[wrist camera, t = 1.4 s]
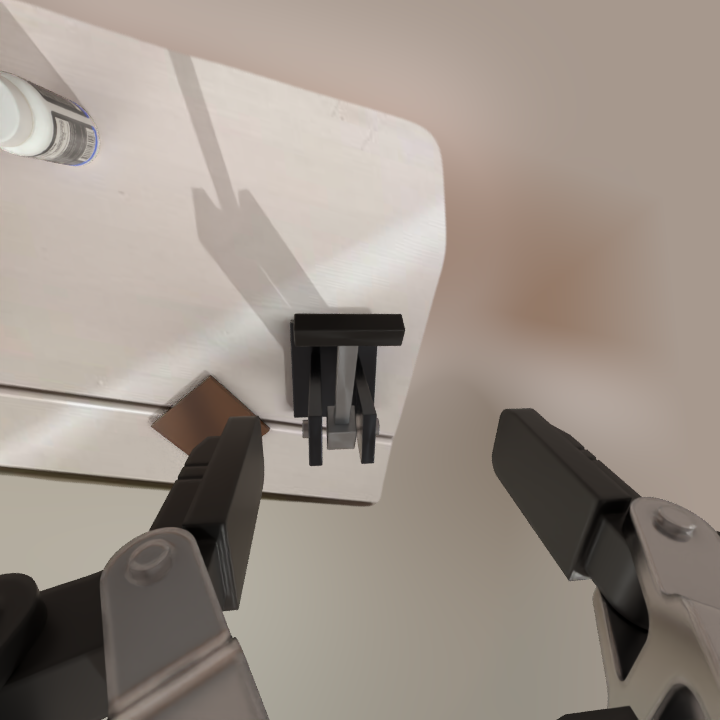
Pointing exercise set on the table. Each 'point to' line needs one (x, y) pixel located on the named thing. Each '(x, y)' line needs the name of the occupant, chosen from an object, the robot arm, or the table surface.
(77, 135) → the pill bottle
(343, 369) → the lever
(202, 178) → the table surface
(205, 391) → the coaster
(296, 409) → the bracket
